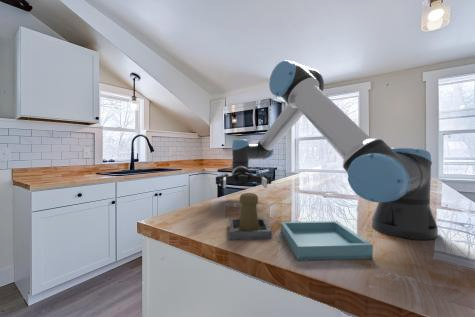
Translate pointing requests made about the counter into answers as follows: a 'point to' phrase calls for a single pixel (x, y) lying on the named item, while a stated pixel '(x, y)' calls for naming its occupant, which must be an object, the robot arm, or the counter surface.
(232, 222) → the grey square holder
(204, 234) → the counter surface
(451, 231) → the counter surface
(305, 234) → the tray
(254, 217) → the olive tall rounded piece
